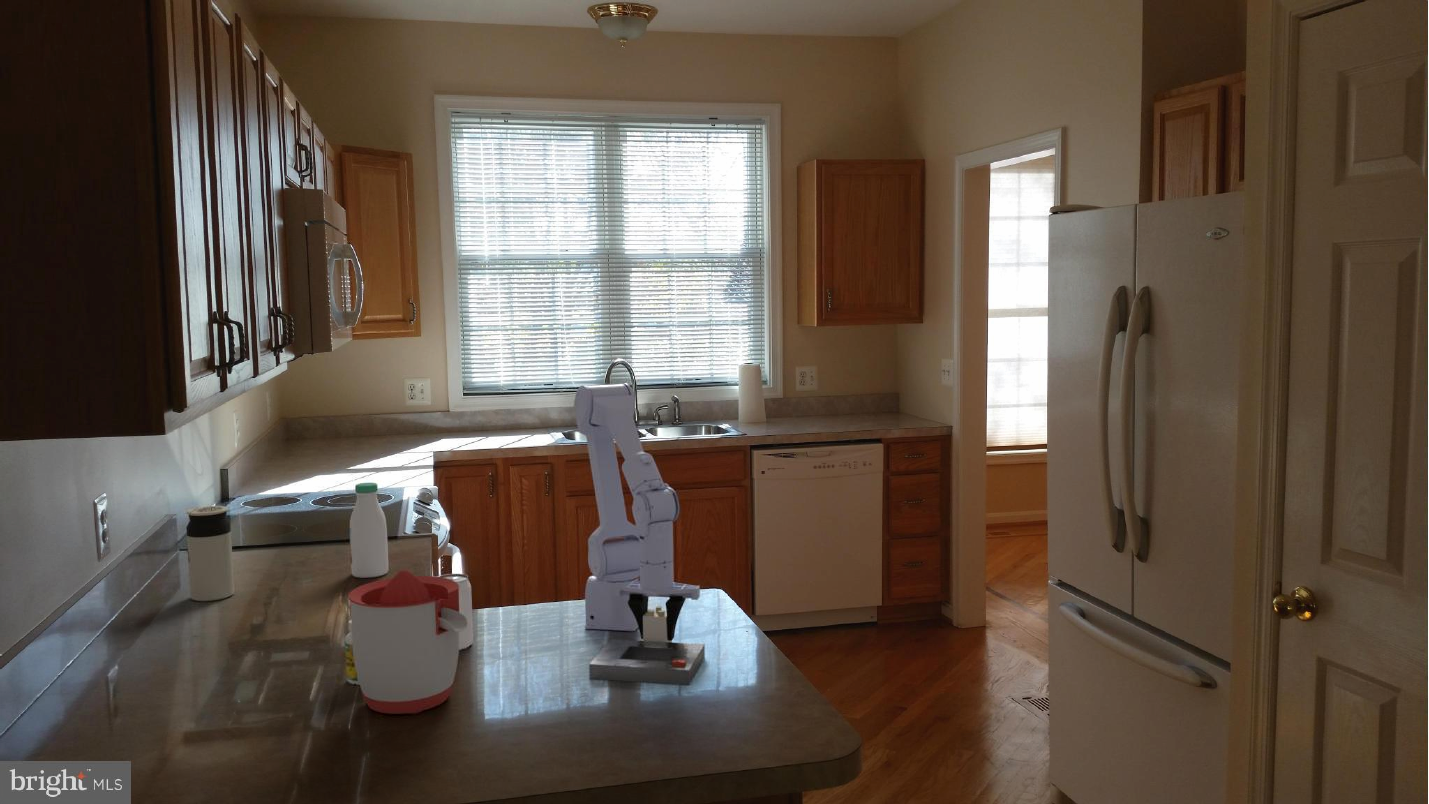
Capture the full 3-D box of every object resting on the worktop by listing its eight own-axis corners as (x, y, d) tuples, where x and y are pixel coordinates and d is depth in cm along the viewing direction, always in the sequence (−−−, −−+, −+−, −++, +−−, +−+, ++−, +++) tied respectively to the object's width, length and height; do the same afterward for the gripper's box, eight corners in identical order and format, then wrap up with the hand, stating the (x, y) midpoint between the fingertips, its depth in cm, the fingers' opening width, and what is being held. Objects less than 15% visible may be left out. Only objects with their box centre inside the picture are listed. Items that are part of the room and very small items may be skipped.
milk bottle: (396, 572, 225) (392, 482, 223) (367, 580, 218) (363, 488, 216) (372, 567, 229) (369, 479, 227) (344, 575, 222) (339, 485, 220)
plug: (643, 650, 173) (642, 611, 172) (649, 642, 177) (648, 604, 176) (666, 652, 172) (665, 612, 171) (671, 644, 176) (671, 605, 175)
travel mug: (241, 590, 212) (236, 505, 210) (223, 601, 204) (218, 513, 202) (202, 591, 211) (196, 505, 210) (183, 602, 203) (177, 513, 202)
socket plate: (589, 678, 160) (589, 660, 160) (611, 652, 172) (611, 635, 171) (689, 685, 157) (688, 666, 157) (704, 658, 169) (704, 640, 168)
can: (480, 645, 176) (478, 577, 175) (447, 655, 172) (445, 585, 170) (459, 637, 181) (457, 570, 180) (427, 646, 176) (424, 578, 175)
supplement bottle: (390, 677, 162) (387, 618, 161) (361, 688, 157) (358, 627, 156) (368, 671, 165) (365, 613, 164) (339, 681, 160) (336, 621, 159)
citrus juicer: (436, 729, 142) (431, 588, 140) (330, 715, 147) (323, 579, 145) (492, 688, 157) (488, 560, 155) (394, 677, 162) (389, 553, 160)
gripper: (608, 564, 170) (609, 643, 172) (693, 567, 168) (694, 648, 169) (620, 554, 177) (621, 630, 179) (701, 557, 174) (702, 634, 176)
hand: (657, 638), depth 174 cm, fingers closed on plug, 4 cm apart
